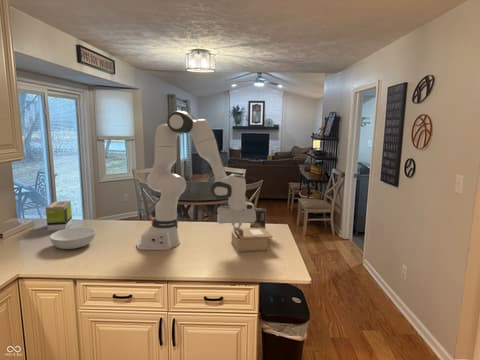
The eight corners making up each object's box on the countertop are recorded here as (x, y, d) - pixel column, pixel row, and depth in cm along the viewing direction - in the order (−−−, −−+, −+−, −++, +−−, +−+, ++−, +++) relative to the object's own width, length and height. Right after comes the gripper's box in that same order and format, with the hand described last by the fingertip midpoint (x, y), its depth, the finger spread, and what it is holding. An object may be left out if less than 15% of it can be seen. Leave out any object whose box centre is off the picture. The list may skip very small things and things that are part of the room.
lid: (240, 239, 159) (240, 233, 158) (234, 230, 173) (234, 224, 173) (272, 237, 163) (272, 231, 162) (263, 228, 177) (263, 223, 177)
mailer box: (237, 253, 160) (237, 239, 159) (231, 243, 174) (231, 231, 172) (266, 251, 164) (267, 238, 163) (259, 241, 177) (259, 229, 176)
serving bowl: (75, 236, 177) (74, 225, 176) (104, 242, 170) (104, 229, 169) (40, 249, 157) (39, 236, 156) (72, 256, 151) (72, 242, 150)
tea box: (55, 223, 198) (53, 200, 196) (72, 223, 201) (71, 200, 198) (47, 231, 184) (45, 206, 182) (66, 230, 187) (64, 206, 184)
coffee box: (265, 234, 190) (266, 208, 187) (264, 237, 184) (266, 211, 181) (250, 233, 191) (251, 207, 188) (249, 236, 185) (250, 210, 182)
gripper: (218, 207, 158) (217, 233, 160) (257, 205, 162) (256, 231, 165) (216, 204, 164) (216, 229, 166) (253, 202, 168) (253, 227, 171)
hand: (236, 230), depth 165 cm, fingers closed
